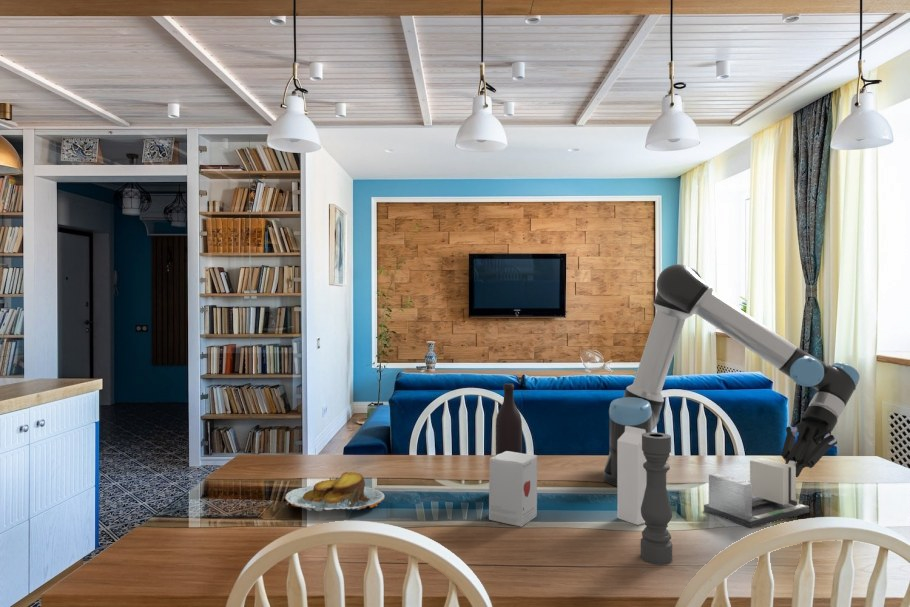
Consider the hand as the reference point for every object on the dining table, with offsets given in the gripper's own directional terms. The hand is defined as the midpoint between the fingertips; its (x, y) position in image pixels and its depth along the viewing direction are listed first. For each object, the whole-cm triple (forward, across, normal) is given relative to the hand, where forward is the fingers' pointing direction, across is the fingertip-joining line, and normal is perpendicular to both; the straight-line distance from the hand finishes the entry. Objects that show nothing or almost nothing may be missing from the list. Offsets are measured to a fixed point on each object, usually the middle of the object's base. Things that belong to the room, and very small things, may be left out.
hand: (783, 484), depth 156 cm
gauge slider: (+5, 0, +1) cm, 5 cm away
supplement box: (+50, +25, +42) cm, 70 cm away
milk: (+32, +11, +24) cm, 42 cm away
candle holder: (+41, -8, +33) cm, 53 cm away
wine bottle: (+44, +41, +36) cm, 70 cm away
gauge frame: (+11, 0, +3) cm, 11 cm away
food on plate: (+75, +56, +67) cm, 115 cm away
